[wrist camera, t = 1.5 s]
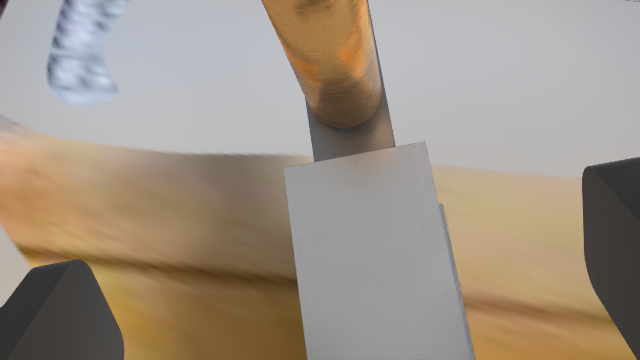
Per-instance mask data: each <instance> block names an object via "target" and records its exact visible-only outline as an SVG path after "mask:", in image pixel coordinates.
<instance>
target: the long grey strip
mask: <svg viewBox="0 0 640 360" xmlns="http://www.w3.org/2000/svg"><path fill="white" fill-rule="evenodd" d="M262 3H263V5H264V7H265V9H266V11H267V13H268V16H269V18H270V20H271V22H272V25H273V27H274V29H275V31H276V33H277V36H278V38H279V40H280V42H281V44H282V46H283V48H284V51H285V53H286V55H287V58H288V60H289V62H290V64H291V67H292V69H293V71H294V73H295V75H296V78H297V80H298V82H299V84H300V86H301V89H302V91H303V93H304V95H305V99H306V106H307V113H308V120H309V127H310V134H311V141H312V147H313V155H314V162H319V161H324V160H329V159H335V158H340V157H345V156H350V155H356V154H361V153H366V152H371V151H377V150H382V149H387V148H393V147H396V146H395V141H394V135H393V130H392V125H391V120H390V115H389V109H388V104H387V99H386V93H385V88H384V83H383V78H382V73H381V67H380V62H379V57H378V51H377V46H376V41H375V36H374V31H373V25H372V20H371V15H370V10H369V4H368V0H262Z"/></svg>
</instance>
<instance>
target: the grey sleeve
mask: <svg viewBox="0 0 640 360" xmlns="http://www.w3.org/2000/svg"><path fill="white" fill-rule="evenodd" d="M283 171H284V179H285V187H286V194H287V202H288V210H289V218H290V226H291V234H292V242H293V250H294V258H295V266H296V274H297V282H298V290H299V298H300V306H301V314H302V322H303V329H304V337H305V345H306V353H307V360H475V356H474V351H473V347H472V342H471V337H470V332H469V328H468V323H467V318H466V313H465V309H464V304H463V299H462V294H461V290H460V285H459V280H458V275H457V271H456V266H455V261H454V256H453V252H452V247H451V242H450V237H449V233H448V228H447V223H446V218H445V214H444V209H443V204H439V205H438V201H437V196H436V191H435V186H434V181H433V176H432V172H431V167H430V163H429V158H428V152H427V148H426V144H425V142H419V143H414V144H408V145H404V146H398V147H393V148H387V149H382V150H377V151H371V152H366V153H361V154H356V155H350V156H345V157H340V158H335V159H329V160H324V161H319V162H313V163H308V164H303V165H298V166H292V167H287V168H283Z"/></svg>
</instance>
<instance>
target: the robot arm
mask: <svg viewBox="0 0 640 360" xmlns="http://www.w3.org/2000/svg"><path fill="white" fill-rule="evenodd" d="M582 195H583V227H584V254H585V262H586V267H587V271H588V275H589V278H590V281H591V284H592V286H593V288H594V290H595V292H596V294H597V296H598V297H599V299H600V301H601V302H602V304H603V305H604V307H605V309H606V310H607V312H608V313H609V315H610V317H611V318H612V320H613V322H614V323H615V325H616V326H617V328H618V330H619V331H620V333H621V334H622V336H623V338H624V339H625V341H626V342H627V344H628V346H629V347H630V349H631V350H632V352H633V354H634V355H635V357H636V359H637V360H640V157H636V158H631V159H626V160H620V161H615V162H609V163H604V164H599V165H593V166H588V167H586V168H585V170H584V172H583V177H582ZM123 359H124V343H123V338H122V334H121V331H120V328H119V326H118V324H117V322H116V320H115V318H114V316H113V314H112V312H111V310H110V307H109V305H108V303H107V301H106V299H105V297H104V295H103V293H102V291H101V289H100V287H99V285H98V282H97V280H96V278H95V276H94V274H93V272H92V270H91V268H90V267H89V266H88V264H87V263H85V262H84V261H82V260H72V261H66V262H61V263H55V264H50V265H44V266H39V267H35V268H33V269H31V270H30V271H29V273H28V274H27V275H26V276H25V278H24V279H23V280H22V282H21V283H20V284H19V286H18V287H17V288H16V290H15V291H14V292H13V294H12V295H11V296H10V298H9V299H8V300H7V302H6V303H5V304H4V305H3V306H2V307H1V308H0V360H123Z"/></svg>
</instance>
